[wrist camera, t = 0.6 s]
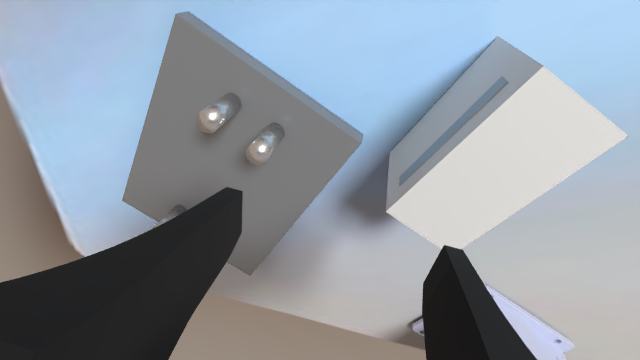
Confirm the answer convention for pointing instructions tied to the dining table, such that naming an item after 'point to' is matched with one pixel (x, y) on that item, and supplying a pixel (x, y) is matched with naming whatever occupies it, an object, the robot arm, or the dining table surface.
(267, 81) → the pin tray
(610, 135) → the block
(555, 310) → the dining table surface
